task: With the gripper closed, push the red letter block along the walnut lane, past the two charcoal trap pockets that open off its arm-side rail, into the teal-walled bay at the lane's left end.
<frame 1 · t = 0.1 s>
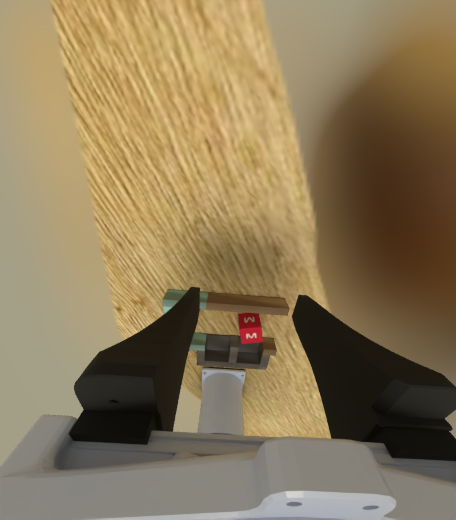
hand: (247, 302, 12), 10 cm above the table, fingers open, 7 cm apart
red letter block: (249, 318, 27), resting in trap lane
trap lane: (229, 319, 26), on the table
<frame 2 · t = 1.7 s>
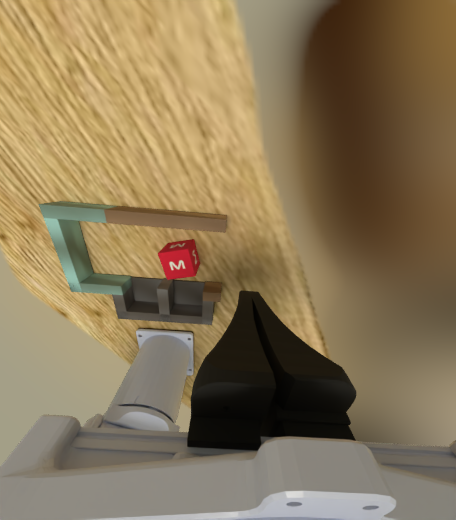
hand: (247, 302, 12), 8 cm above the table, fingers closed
red letter block: (184, 252, 20), resting in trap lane
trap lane: (157, 251, 19), on the table
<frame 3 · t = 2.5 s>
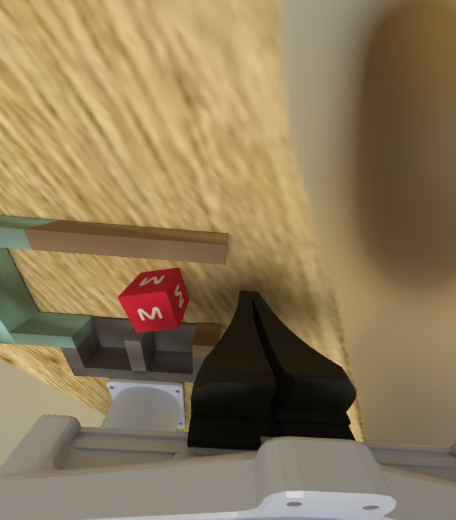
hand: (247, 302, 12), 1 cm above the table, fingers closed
red letter block: (166, 284, 14), resting in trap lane
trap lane: (126, 284, 13), on the table
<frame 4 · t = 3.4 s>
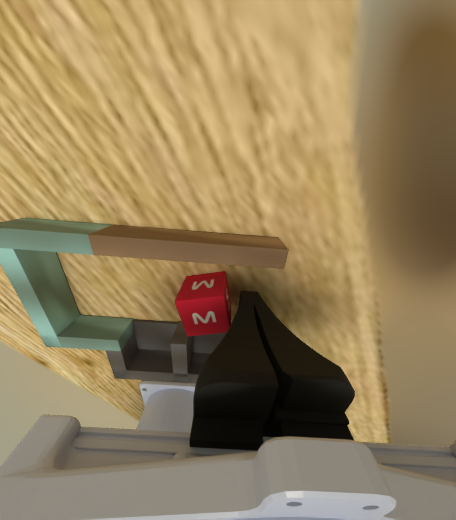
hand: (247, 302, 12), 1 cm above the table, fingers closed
red letter block: (209, 288, 14), resting in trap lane, touching gripper
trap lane: (171, 287, 13), on the table
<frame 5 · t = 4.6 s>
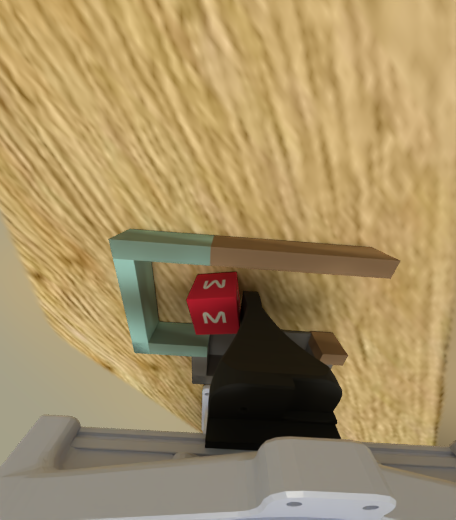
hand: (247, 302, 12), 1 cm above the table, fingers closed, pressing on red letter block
red letter block: (219, 288, 14), resting in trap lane, touching gripper
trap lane: (255, 295, 14), on the table
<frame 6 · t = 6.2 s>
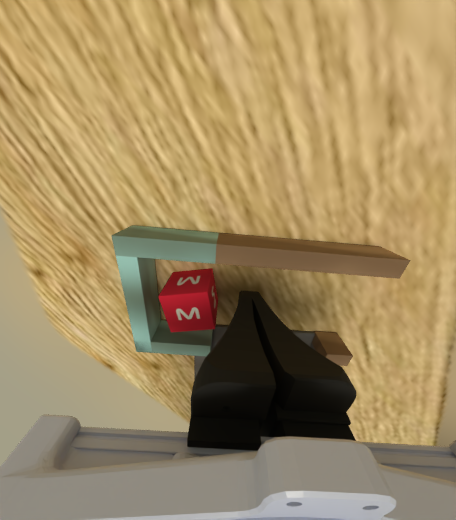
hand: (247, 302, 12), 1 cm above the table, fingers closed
red letter block: (197, 285, 14), resting in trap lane
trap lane: (259, 294, 14), on the table
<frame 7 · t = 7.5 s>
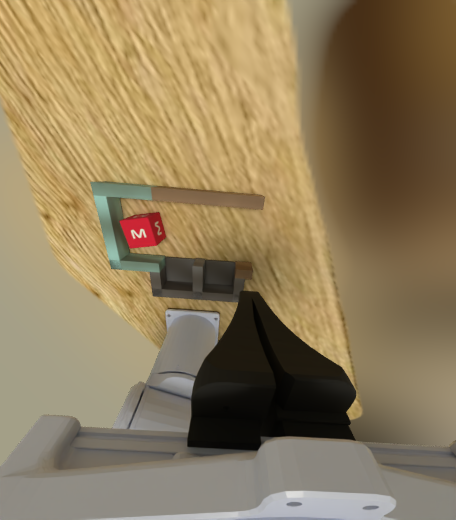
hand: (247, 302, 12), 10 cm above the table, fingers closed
red letter block: (151, 225, 21), resting in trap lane
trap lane: (192, 231, 20), on the table
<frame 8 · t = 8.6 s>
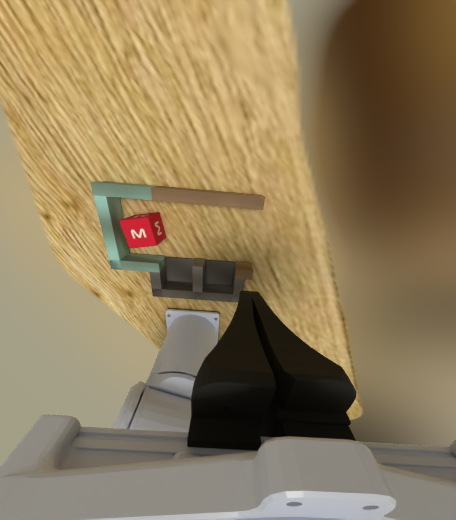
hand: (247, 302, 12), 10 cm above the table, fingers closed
red letter block: (151, 225, 21), resting in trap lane
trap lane: (192, 231, 20), on the table
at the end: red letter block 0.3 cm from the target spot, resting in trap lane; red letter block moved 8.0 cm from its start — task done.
